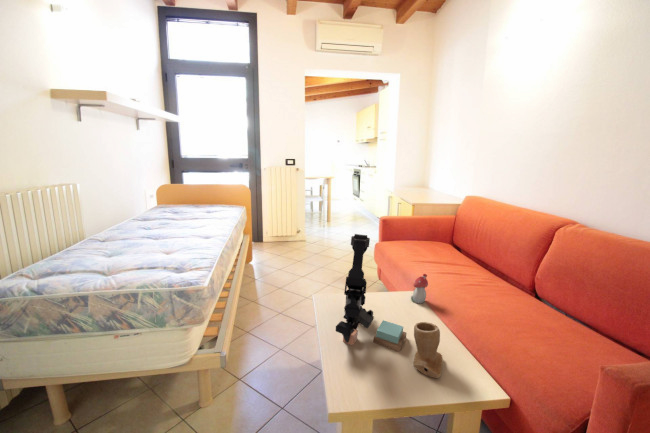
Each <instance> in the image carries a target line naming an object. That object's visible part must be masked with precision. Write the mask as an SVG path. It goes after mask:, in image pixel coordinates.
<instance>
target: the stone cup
mask: <svg viewBox="0 0 650 433" xmlns="http://www.w3.org/2000/svg"><path fill="white" fill-rule="evenodd" d="M413 338H414V341H415V344H416V345H415V346H416V350H417V351H416V352H415V355H414V359H413V360H414V361H413V367H414V368H415V369H416V370H418V371H419V372H420V373H421V374H423V375H425V376H427V377H430V378H434V379H435V378H436V379H439V378H441V374H442V368H443V355H442V353H440V352H438V349H439V348H438V347H439V345H440V341H441V331H440V328H439V326H438V325H437V324H434V323H433V322H427V321H420V322H417V323H415V325H414V327H413Z"/></svg>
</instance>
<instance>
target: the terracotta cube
mask: <svg viewBox="0 0 650 433" xmlns="http://www.w3.org/2000/svg"><path fill="white" fill-rule="evenodd" d="M354 330H355V331H354V332H353V333H352V334H351V335H350V339H349V342H348V343H347V342H346V341H345V339H344V337H343V336H342V342H344V343H345V344H348V345H350V346H354V344H355V343H356V342H357V340H358V334H359V330H358V329H357V330H356V329H354Z"/></svg>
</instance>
